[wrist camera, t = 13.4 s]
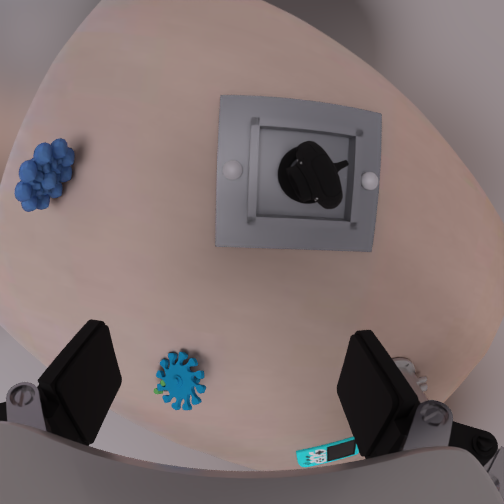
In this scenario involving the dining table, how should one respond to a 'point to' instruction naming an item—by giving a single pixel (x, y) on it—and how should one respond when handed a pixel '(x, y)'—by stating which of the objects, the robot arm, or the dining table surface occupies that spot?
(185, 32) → the dining table surface
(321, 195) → the webcam
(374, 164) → the housing
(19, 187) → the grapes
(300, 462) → the handheld game console
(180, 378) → the gear
